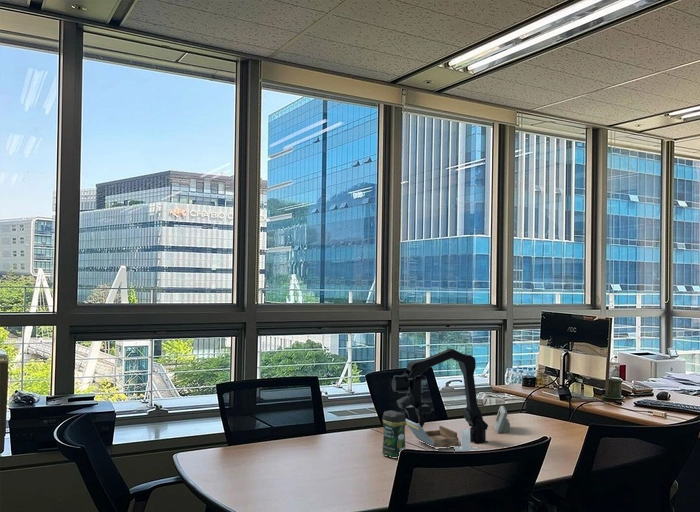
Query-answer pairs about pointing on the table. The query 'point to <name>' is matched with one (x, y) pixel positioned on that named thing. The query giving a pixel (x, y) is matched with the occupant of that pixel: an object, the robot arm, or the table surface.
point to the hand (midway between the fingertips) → (416, 425)
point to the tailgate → (419, 432)
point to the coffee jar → (393, 433)
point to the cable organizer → (465, 441)
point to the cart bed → (443, 437)
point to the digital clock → (502, 421)
